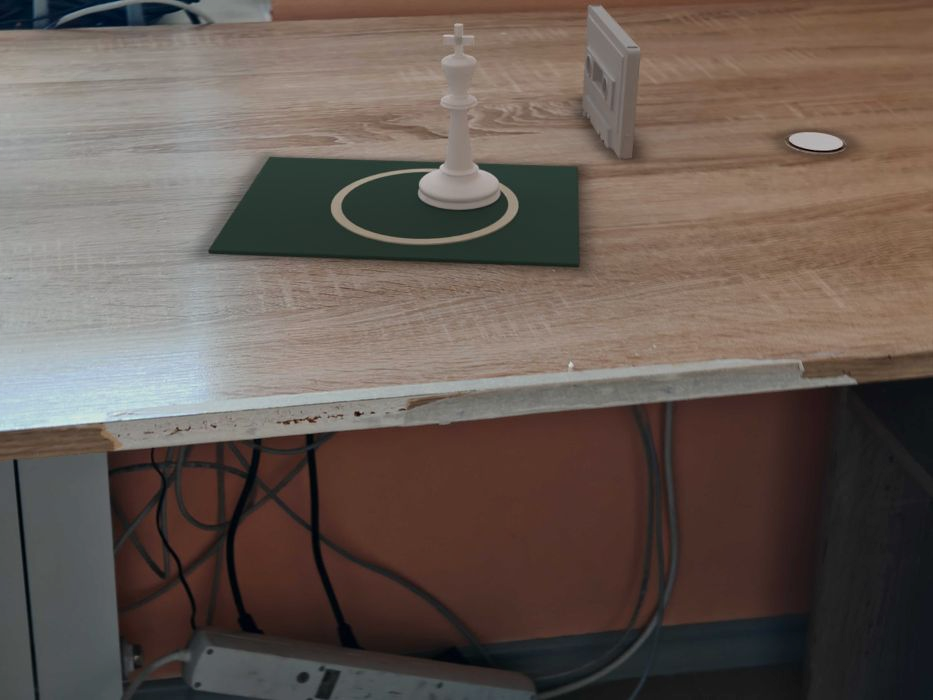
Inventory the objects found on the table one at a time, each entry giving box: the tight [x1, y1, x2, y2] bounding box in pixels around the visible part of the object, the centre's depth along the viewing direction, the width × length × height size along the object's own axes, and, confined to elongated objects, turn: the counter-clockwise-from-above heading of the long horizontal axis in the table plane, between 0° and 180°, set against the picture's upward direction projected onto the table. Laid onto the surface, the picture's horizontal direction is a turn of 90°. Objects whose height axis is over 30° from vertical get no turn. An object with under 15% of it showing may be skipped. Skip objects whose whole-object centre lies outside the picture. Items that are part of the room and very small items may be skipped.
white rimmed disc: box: [784, 131, 848, 156], centre depth 73 cm, size 4×4×1 cm
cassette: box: [581, 4, 642, 160], centre depth 74 cm, size 12×2×8 cm, turn 7°
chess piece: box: [418, 23, 500, 210], centre depth 62 cm, size 5×5×10 cm
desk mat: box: [207, 156, 580, 268], centre depth 64 cm, size 20×14×1 cm
